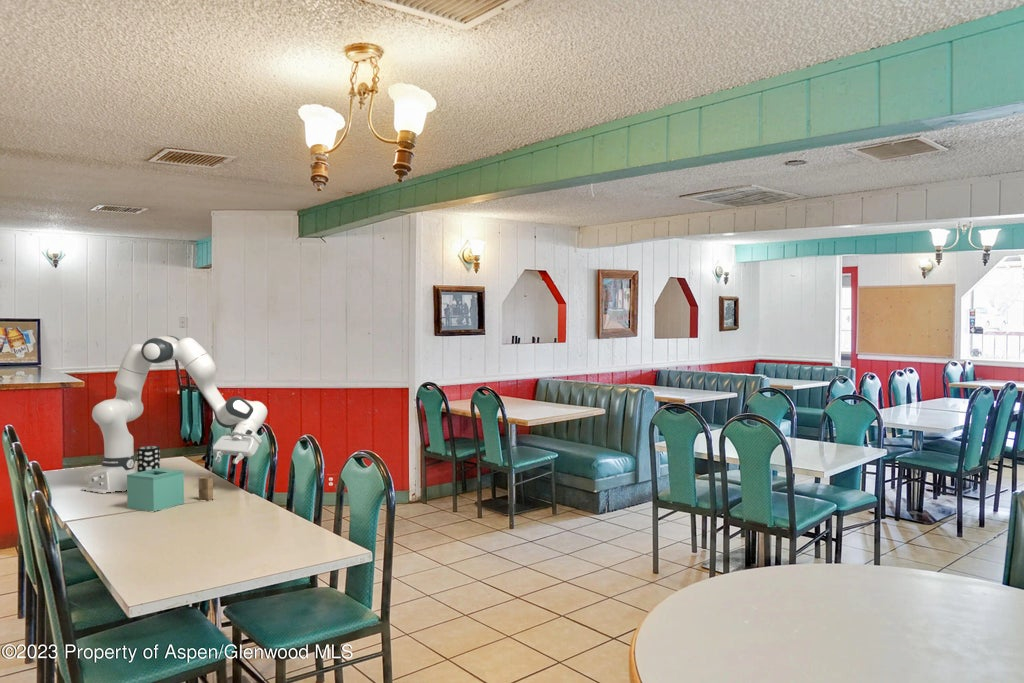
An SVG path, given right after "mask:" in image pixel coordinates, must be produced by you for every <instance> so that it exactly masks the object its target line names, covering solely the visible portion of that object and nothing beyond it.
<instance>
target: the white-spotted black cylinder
mask: <svg viewBox="0 0 1024 683" xmlns="http://www.w3.org/2000/svg"><path fill="white" fill-rule="evenodd" d="M136 454H137V455H136V460H137V461H136V463H137V465H136V466H137V471H136V473H137V472H142V471H146V470H151V469H156V468H161V447H160V446H159V445H158V446H157V445H147V446H139V447H137V448H136Z"/></svg>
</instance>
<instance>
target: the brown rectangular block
mask: <svg viewBox="0 0 1024 683" xmlns="http://www.w3.org/2000/svg"><path fill="white" fill-rule="evenodd" d="M212 499H213V500H214V477H210V476H208V477H207V476H201V477H198V501H200V500H206V501H205V502H210V501H209V500H212ZM213 500H212V501H213Z"/></svg>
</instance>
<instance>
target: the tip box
mask: <svg viewBox="0 0 1024 683" xmlns="http://www.w3.org/2000/svg"><path fill="white" fill-rule="evenodd" d="M184 474H185V471H184V470H179V469H169V468H161V467H160V468H156V469H151V470H146V471H142V472H137V471H136V473H132V474H128V475H127V491H126V494H127V495H126V496H127V497H126V500H127V501H126V502H127V504H126V505H127V506H126V507H127V509H128V508H131V509H130V510H135V509H138V510H137V511H142V510H147V511H146V512H149V511H156V512H158V511H157V510H160V511H162V510H161V509H164V508H167V509H169V508H168V507H171V508H173V507H172V506H174V507H176V506H175V505H178V506H181V505H184V504H185V477H184V476H185V475H184ZM183 503H184V504H183ZM180 504H181V505H180ZM164 510H165V509H164Z"/></svg>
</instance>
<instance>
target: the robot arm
mask: <svg viewBox="0 0 1024 683" xmlns="http://www.w3.org/2000/svg"><path fill="white" fill-rule="evenodd" d="M174 360H176V361H178V362H179V364H180V365H181V366H182V367H183V368H184V369H185V371H186V372H187V374H188V375H189V376H190V377H191V379H192V380H193V381H194V383H195V385H196V387H197V388H198V390H199V392H200V393H201V395H202V397H203V398H204V399H205V401H206V402H207V403H208V405H209V407H210V408H211V410H212V412H213V415H214V417H215V418H214V419H215V421H216V423H217V424H218V425H219V426H221V427H222V428H225V429H232V428H234V429H233V430H232V432H231V433H230V434H229V433H226V434H224V435H222V436H221V437H219V438H218V440H217V441H216V442H215V443H214V445H213V446H212V450H213V452H214V453H215V454H216V457H215V459H214V461H215V462H216V463H221V461H222V460H223V459H222V457H223V455H228V456H229V455H230V456H236V457H235V458H233V460H232V464H233V465H238V463H239V462H240V461H241V460H243V459H244V458H245V457H250V458H251V457H253V456H254V455H255V454H256V452H257V450H258V448H259V447H260V444H261V443H262V442H263V439H261V437H260V436H259V435H258V434H257V433H258V430H259V429H260V428H261V427H262V426H263V423H265V420H266V418H267V416H268V409H267V406H266V405H265V404H264V403H263V402H261V401H260V400H253V401H252V400H249V399H248V400H247V399H244V398H243V397H240V396H231V397H229V398H228V399H227V400H225V398H224V397H223V395H222V393H221V392H220V390H219V389H218V388H217V386H216V382H215V381H216V380H215V378H216V377H215V376H216V371H217V366H216V363H215V362H214V359H213V358H212V357H211V355H210V354H209V353H208V352H207V351H206V349H205V348H204V347H203V346H202V345H200V343H199V342H197V340H195V339H194V338H193V337H188V336H187V337H184V338H183V337H182V338H181V339H180V338H178V337H176V336H173V335H162V336H157V337H153V338H149V339H147V340H146V341H145V342H144V343H134V344H132V345H130V347H129V348H127V351H126V353H124V356H123V358H122V360H121V362H120V365H119V367H118V371H117V373H116V376H115V379H114V380H113V382H114V385H115V387H116V394H115V397H114V398H110V399H105V400H102V401H100V402H99V403H97V404H96V405H95V406H93V408H92V413H91V417H92V420H93V421H94V422H95V423H96V424H97V425H98V426H99V429H100V431H101V433H102V436H103V444H104V445H103V447H104V448H103V449H104V450H103V451H104V454H103V455H104V457H102V458H101V457H100V459H99V462H101V464H100V466H99V467H98V468H96V469H95V470H94V471H93V472H92V473H89V476H88V479H87V485H85V486H82V487H81V491H84V490H86V491H85V492H90V491H93V492H92V493H95V492H98V493H97V494H101V493H103V494H107V493H106V492H111V493H116V492H115V491H122V492H127V491H126V490H127V475H128V474H132V473H137V471H136V468H135V463H136V455H135V453H134V451H135V450H134V449H135V448H134V447H135V446H134V444H135V443H134V442H135V441H134V436H133V435H132V434H131V433H130V431H129V429H128V426H127V423H129V422H132V421H135V420H136V419H138V418H140V417H141V416H142V414H143V412H144V403H143V402H142V392H143V387H144V385H145V383H146V380H147V376H148V373H149V372H150V368H151V366H152V365H153V364H161V363H167V362H170V361H174Z"/></svg>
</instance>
